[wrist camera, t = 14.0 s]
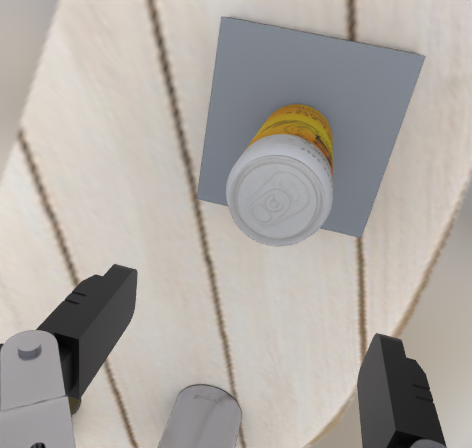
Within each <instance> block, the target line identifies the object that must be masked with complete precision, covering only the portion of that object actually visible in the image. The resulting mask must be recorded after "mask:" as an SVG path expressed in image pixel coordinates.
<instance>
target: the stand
mask: <svg viewBox="0 0 472 448" xmlns="http://www.w3.org/2000/svg"><path fill="white" fill-rule="evenodd" d="M424 59H425V56H423V55H420V54H416V53H411V52H406V51H401V50H396V49H391V48H385V47H380V46H375V45H370V44H365V43H359V42H354V41H349V40H344V39H339V38H334V37H328V36H323V35H318V34H313V33H308V32H303V31H297V30H292V29H287V28H282V27H277V26H272V25H266V24H261V23H256V22H251V21H246V20H241V19H235V18H230V17H221V24H220V32H219V39H218V46H217V54H216V61H215V68H214V76H213V83H212V90H211V97H210V105H209V112H208V119H207V127H206V134H205V141H204V149H203V156H202V163H201V171H200V178H199V185H198V193H197V199H200V200H204V201H208V202H212V203H217V204H221V205H225V206H228V203H227V198H226V185H227V180H228V177H229V174H230V172H231V170H232V168H233V166H234V165H235V163H236V162H237V161H238V159H239V158H240V156H241V155H242V154H243V152H244V151H245V149H246V148H247V147H248V145H249V144H250V142H251V141H252V140H253V138H254V137H255V136H256V134H257V133H258V131H259V130H260V129H261V127H262V126H263V124H264V123H265V122H266V120H267V119H268V118H269V116H270V115H271V114H272V113H274V112H275V111H276V110H278V109H280V108H282V107H284V106H287V105H292V104H302V105H307V106H310V107H312V108H314V109H316V110H317V111H319V112H320V113H321V114H322V115H323V116H324V117H325V118H326V120H327V121H328V123H329V125H330V127H331V130H332V135H333V202H332V207H331V210H330V213H329V215H328V217H327V219H326V220H325V222H324V223H323V225H322V226H321V227H320V228H322V229H326V230H330V231H334V232H338V233H343V234H347V235H351V236H355V237H359V238H361V237H362V234H363V231H364V229H365V226H366V223H367V220H368V217H369V215H370V212H371V209H372V206H373V203H374V200H375V198H376V195H377V192H378V189H379V186H380V183H381V181H382V178H383V175H384V172H385V169H386V167H387V164H388V161H389V158H390V155H391V152H392V150H393V147H394V144H395V141H396V138H397V135H398V133H399V130H400V127H401V124H402V121H403V119H404V116H405V113H406V110H407V107H408V104H409V102H410V99H411V96H412V93H413V90H414V87H415V85H416V82H417V79H418V76H419V73H420V71H421V68H422V65H423V62H424Z"/></svg>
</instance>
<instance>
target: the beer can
mask: <svg viewBox="0 0 472 448" xmlns="http://www.w3.org/2000/svg"><path fill="white" fill-rule="evenodd" d="M226 198H227V203H228V207H229V209H230V212H231V215H232V217H233V219H234V221H235V223H236V224H237V226H238V227H239V228H240V229H241V230H242V231H243V232H244V233H245V234H246V235H247V236H248V237H250V238H252V239H253V240H255V241H257V242H259V243H262V244H266V245H270V246H287V245H292V244H295V243H298V242H300V241H302V240H304V239H306V238H307V237H308V236H310V235H312V234H313V233H314V232H316V231H317V230H318V229H319V228H320V227H321V226H322V225H323V223H324V222H325V220H326V219H327V217H328V215H329V213H330V210H331V207H332V202H333V135H332V130H331V127H330V125H329V123H328V121H327V120H326V118H325V117H324V116H323V115H322V114H321V113H320V112H319V111H317V110H316V109H314V108H312V107H310V106H307V105H302V104H292V105H287V106H284V107H282V108H280V109H278V110H276V111H275V112H274V113H272V114H271V115H270V116H269V118H268V119H267V120H266V122H265V123H264V124H263V126H262V127H261V129H260V130H259V131H258V133H257V134H256V136H255V137H254V138H253V140H252V141H251V142H250V144H249V145H248V147H247V148H246V149H245V151H244V152H243V154H242V155H241V156H240V158H239V159H238V161H237V162H236V163H235V165H234V166H233V168H232V170H231V172H230V174H229V177H228V180H227V185H226Z"/></svg>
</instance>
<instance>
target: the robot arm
mask: <svg viewBox="0 0 472 448" xmlns="http://www.w3.org/2000/svg"><path fill="white" fill-rule="evenodd" d="M136 288H137V270H136V269H132V268H128V267H124V266H121V265H117V264H114V265H113V266H112V267H111V268H110V269H109V270H108V271H107V273H106V274H105V275H104V276H99V275H94V276H92V277H90V278H88V279H86V280H84V281H82V282H81V283H80V284H79V285H78V286H77V287H76V288H75V289H74V290H73V291H72V293H70V294H69V295H68V296H67V297H66V298H65V301H63V302H62V303H61V304H60V305H59V306H58V307H57V308H56V309H55V310H54V311H53V312H52V313H51V314H50V315H49V316H48V317H47V319H46V320H45V321H44V322H43V323H42V324H41V325H40V326H39V327H38V328H37V329H36V330H30V331H25V332H21V333H18V334H16V335H14V336H12V337H11V338H10V339H8V340H7V341H6V342H5V343H4V344H0V448H76V445H75V439H74V432H73V426H72V420H71V413H70V407H69V401H68V396H69V397H72V398H75V399H80V398H81V396H82V395H83V393H84V392H85V390H86V389H87V387H88V386H89V384H90V383H91V381H92V380H93V378H94V377H95V375H96V374H97V372H98V370H99V369H100V367H101V366H102V364H103V363H104V361H105V360H106V358H107V357H108V355H109V354H110V352H111V351H112V349H113V348H114V346H115V345H116V343H117V342H118V340H119V338H120V337H121V335H122V334H123V332H124V331H125V329H126V328H127V326H128V325H129V323H130V321H131V319H132V316H133V313H134V309H135V301H136ZM357 388H358V399H359V410H360V422H361V433H362V445H363V448H447V447H446V444H445V440H444V436H443V433H442V430H441V426H440V422H439V419H438V415H437V412H436V408H435V405H434V403H433V398H432V395H431V392H430V391H429V390H430V387H429V384H428V381H427V377H426V374H425V373H424V371H423V370H422V369H421V367H420V366H419V364H418V363H417V362H416V360H413V359H409V358H406V355H405V351H404V347H403V343H402V340H401V339H398V338H394V337H390V336H386V335H382V334H378V333H376V334H375V335H374V337H373V339H372V342H371V344H370V346H369V349H368V351H367V353H366V356H365V358H364V360H363V363H362V365H361V368H360V371H359V375H358V383H357ZM240 422H241V410H240V407H239V405H238V404H237V402H236V401H235V400H234V399H233V398H232V397H231V396H230V395H229V394H227V393H226V392H224V391H222V390H220V389H218V388H215V387H211V386H206V385H197V386H191V387H188V388H186V389H185V390H183V391H182V392H181V393H180V394H179V395H178V398H177V400H176V402H175V405H174V407H173V410H172V412H171V415H170V418H169V420H168V422H167V425H166V427H165V430H164V432H163V435H162V437H161V440H160V442H159V445H158V448H235V446H236V441H237V436H238V431H239V427H240Z"/></svg>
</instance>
